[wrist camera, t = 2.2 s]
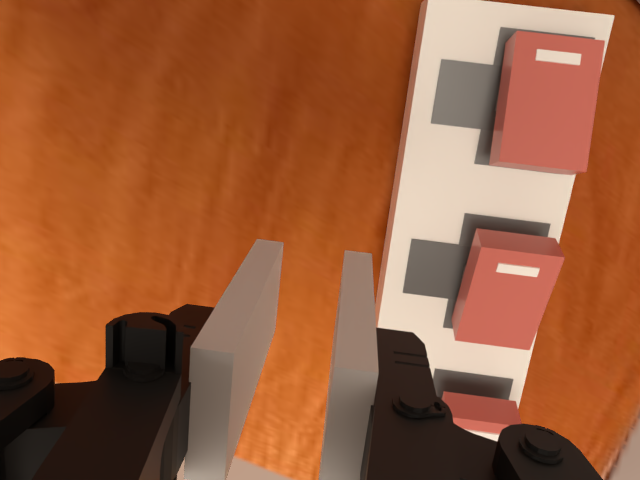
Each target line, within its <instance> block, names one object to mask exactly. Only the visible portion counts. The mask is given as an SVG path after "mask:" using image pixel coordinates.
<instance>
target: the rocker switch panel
mask: <svg viewBox="0 0 640 480" xmlns="http://www.w3.org/2000/svg"><path fill="white" fill-rule="evenodd" d="M614 16H615V15H607V14H598V13H589V12H580V11H571V10H562V9H553V8H544V7H535V6H527V5H518V4H509V3H500V2H491V1H482V0H424V1H423V2H422V3H421V6H420V13H419V19H418V26H417V33H416V39H415V46H414V52H413V59H412V65H411V72H410V79H409V85H408V92H407V98H406V105H405V112H404V118H403V125H402V131H401V138H400V144H399V151H398V158H397V164H396V171H395V177H394V184H393V191H392V197H391V204H390V210H389V217H388V223H387V230H386V237H385V243H384V250H383V256H382V263H381V269H380V276H379V283H378V289H377V296H376V302H375V318H376V327H377V328H384V329H392V330H399V331H407V332H413V333H414V334H415V335H416V336H417V337H418V338H419V339H420V340H421V341H422V342H423V343H424V344H425V348H426V352H427V358H428V361H429V365H430V367H429V368H430V369H431V374H432V378H433V382H434V387H435V391H436V395H437V397H439V398H440V399H442V396H443V392H444V391H445V392H453V393H460V394H467V395H475V396H482V397H490V398H497V399H504V400H512V401H516V404H517V408H518V407H519V403H520V399H521V395H522V391H523V387H524V383H525V379H526V375H527V370H528V366H529V362H530V358H531V354H532V350H533V346H534V342H535V338H536V335H535V337H534V340H533V343H532V345H531V348H530V350H522V349H515V348H507V347H500V346H492V345H485V344H477V343H470V342H462V341H455V339H454V332H453V326H452V315H453V312H454V308H455V304H456V301H457V297H458V293H459V290H460V286H461V283H462V279H463V275H464V272H465V268H466V264H467V261H468V257H469V253H470V250H471V246H472V242H473V239H474V235H475V231H476V228H479V229H487V230H494V231H502V232H510V233H518V234H526V235H534V236H542V237H550V238H556V240H557V242H558V244H559V240H560V236H561V232H562V228H563V224H564V220H565V216H566V212H567V208H568V204H569V199H570V195H571V191H572V187H573V183H574V179H575V175H576V174H574V175H564V174H556V173H548V172H540V171H532V170H523V169H515V168H507V167H499V166H491V165H489V161H490V154H491V146H492V139H493V132H494V124H495V117H496V110H497V102H498V95H499V88H500V80H501V73H502V66H503V58H504V51H505V43H506V42H507V41H508V40H509V39H510V38H511V36H512V35H513V34H514V33H515V32H516V31H525V32H534V33H542V34H551V35H560V36H569V37H578V38H586V39H595V40H604V41H605V45H604V52H603V59H602V65H603V61H604V57H605V53H606V49H607V45H608V41H609V37H610V32H611V28H612V24H613V20H614ZM601 69H602V66H601ZM536 334H537V332H536Z"/></svg>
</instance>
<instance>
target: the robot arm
mask: <svg viewBox="0 0 640 480" xmlns="http://www.w3.org/2000/svg"><path fill="white" fill-rule="evenodd" d="M283 245H284V242H277V241H269V240H262V239H257V240H256V242H255V243H254V245H253V246H252V248H251V250H250V251H249V253H248V255H247V256H246V258H245V259H244V261H243V263H242V264H241V266H240V268H239V269H238V271H237V272H236V274H235V276H234V277H233V279H232V281H231V282H230V284H229V286H228V287H227V289H226V290H225V292H224V294H223V295H222V297H221V299H220V300H219V302H218V303H217V305H216V307H215V308H213V307H205V306H198V305H190V304H186V305H184V306H182V307H180V308H178V309H176V310H174V311H172V312H171V313H170V314H169V315H165V314H160V313H149V312H139V313H133V314H126V315H123V316H120V317H118V318H115V319H113V320H112V321H110V322H109V323H108V324H106V368H105V369H104V371H103V373H102V374H101V376H100V377H99V379H98V380H97V381H90V382H80V383H59V384H55V375H54V369H53V368H52V367H51V366H50V365H49V364H48V363H46V362H43V361H41V360H38V359H29V358H24V357H16V358H15V359H14V358H7V359H4V360H1V361H0V480H177V473H178V471H179V468H180V466H181V464H182V462H183V460H184V457H185V466H184V479H187V480H226V478H227V475H228V472H229V469H230V465H231V462H232V459H233V456H234V453H235V450H236V447H237V444H238V441H239V438H240V435H241V432H242V429H243V426H244V423H245V420H246V417H247V414H248V411H249V408H250V405H251V402H252V399H253V396H254V393H255V390H256V387H257V384H258V381H259V378H260V375H261V372H262V368H263V365H264V362H265V359H266V356H267V353H268V350H269V347H270V344H271V341H272V338H273V335H274V332H275V327H276V316H277V306H278V296H279V286H280V275H281V265H282V255H283ZM429 367H430V365H429V361H428V358H427V352H426V348H425V344H424V343H423V342H422V341H421V340H420V339H419V338H418V337H417V336H416V335H415V334H414V333H413V332H407V331H399V330H392V329H384V328H377V327H376V318H375V301H374V283H373V266H372V254H371V253H363V252H355V251H348V250H345V253H344V261H343V268H342V276H341V283H340V291H339V299H338V306H337V314H336V322H335V329H334V337H333V346H332V356H331V365H330V375H329V385H328V394H327V404H326V414H325V423H324V433H323V443H322V452H321V462H320V472H319V480H603V479H602V478H601V477H600V475H599V474H598V473H597V472H596V470H595V469H594V468H593V466H592V465H591V464H590V463H589V461H588V460H587V459H586V458H585V456H584V455H583V454H582V452H581V451H580V450H579V449H578V448H577V447H576V446H575V445H574V444H573V443H571V442H570V441H569V440H568V439H566V438H564V437H563V436H561V435H559V434H558V433H556V432H555V431H552V430H550V429H548V428H547V429H545V427H541V426H537V425H529V424H514V425H509V426H507V427H506V428H504V429H502V430H501V433H500V435H499V437H498V441H494V440H491V439H488V438H485V437H482V436H479V435H476V434H474V433H471V432H469V431H467V430H464V429H463V428H461V427H459V426H457V425H456V424H454V423H453V415H452V413H451V410H450V408H449V406H448V405H447V404H446V403H445V402H444V401H443V400H442V399H440V398H439V397H437V395H436V391H435V387H434V382H433V378H432V374H431V369H430V368H429Z"/></svg>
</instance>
